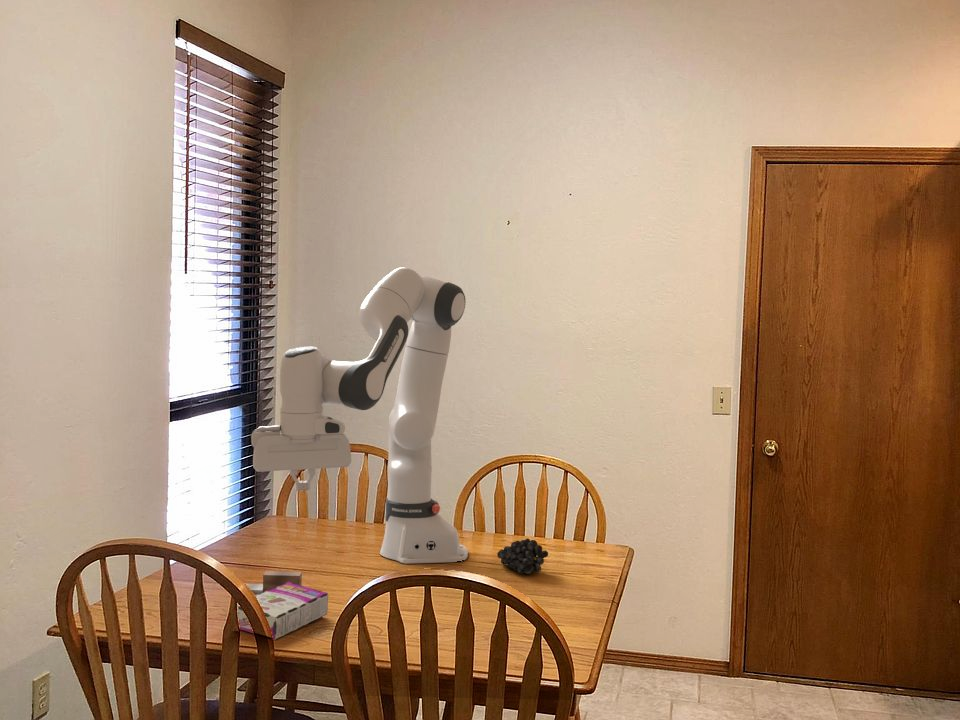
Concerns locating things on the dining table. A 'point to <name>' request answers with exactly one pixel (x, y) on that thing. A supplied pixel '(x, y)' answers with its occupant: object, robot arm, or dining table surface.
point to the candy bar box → (288, 608)
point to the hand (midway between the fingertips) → (302, 490)
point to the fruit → (523, 556)
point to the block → (275, 580)
